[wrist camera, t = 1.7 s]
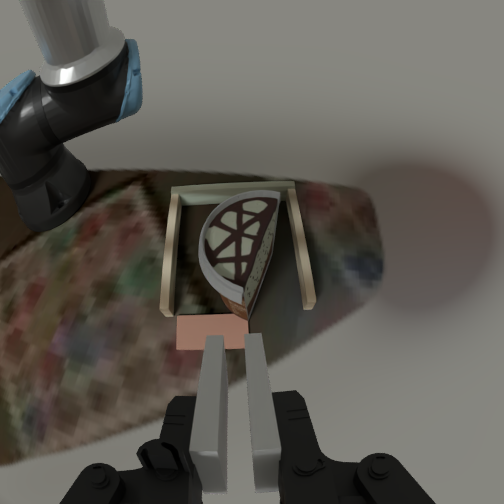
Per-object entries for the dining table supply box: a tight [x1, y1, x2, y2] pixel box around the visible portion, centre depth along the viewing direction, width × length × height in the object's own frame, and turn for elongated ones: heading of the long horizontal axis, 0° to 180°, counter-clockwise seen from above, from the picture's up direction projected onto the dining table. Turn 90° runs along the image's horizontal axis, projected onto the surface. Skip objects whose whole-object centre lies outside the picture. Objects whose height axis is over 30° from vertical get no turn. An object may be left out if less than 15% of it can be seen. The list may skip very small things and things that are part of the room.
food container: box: [199, 190, 281, 321], centre depth 31 cm, size 12×6×10 cm, turn 161°
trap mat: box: [177, 314, 249, 350], centre depth 31 cm, size 4×8×1 cm, turn 94°
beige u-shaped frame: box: [160, 181, 316, 317], centre depth 36 cm, size 18×17×3 cm
